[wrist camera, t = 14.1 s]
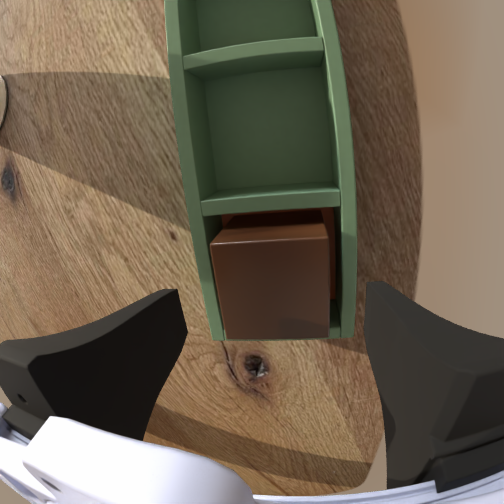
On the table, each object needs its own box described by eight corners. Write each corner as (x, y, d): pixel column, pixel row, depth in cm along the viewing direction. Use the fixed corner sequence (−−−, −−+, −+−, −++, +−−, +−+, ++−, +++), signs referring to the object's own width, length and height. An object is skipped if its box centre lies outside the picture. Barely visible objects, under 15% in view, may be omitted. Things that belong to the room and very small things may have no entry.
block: (321, 209, 15) (329, 236, 11) (324, 289, 17) (329, 338, 13) (233, 215, 16) (208, 243, 12) (243, 293, 18) (226, 340, 13)
